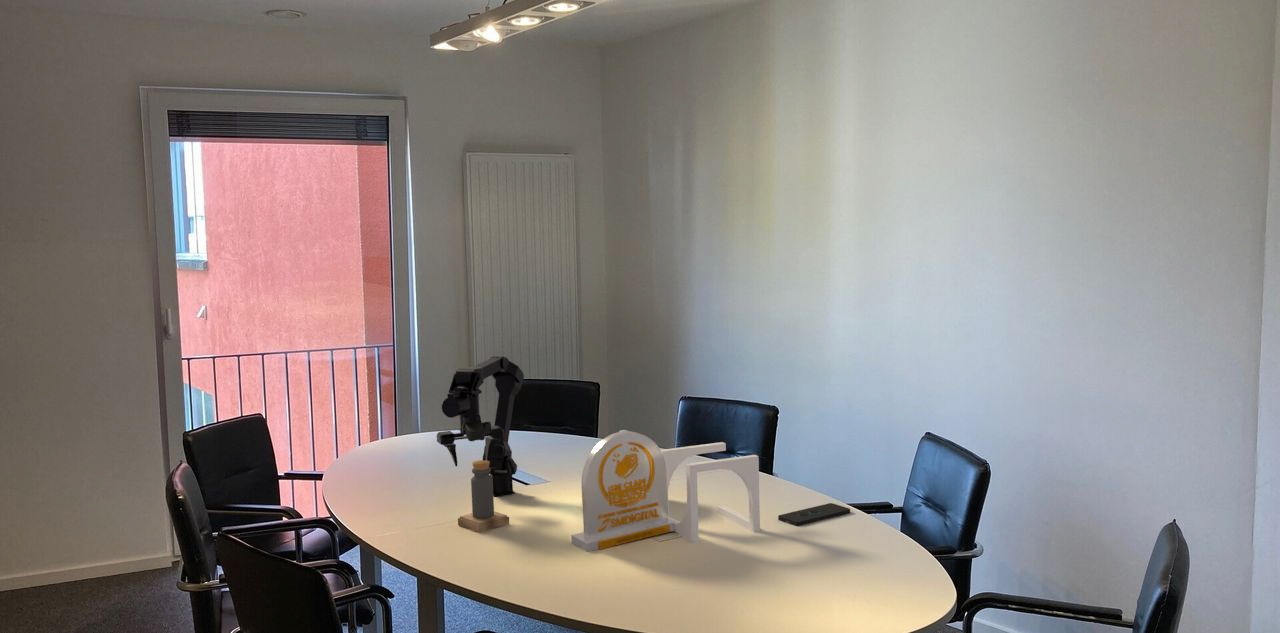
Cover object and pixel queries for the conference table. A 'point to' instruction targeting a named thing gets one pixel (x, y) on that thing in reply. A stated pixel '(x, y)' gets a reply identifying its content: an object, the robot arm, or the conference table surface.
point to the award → (623, 492)
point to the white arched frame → (740, 465)
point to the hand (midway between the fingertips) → (471, 464)
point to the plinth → (483, 522)
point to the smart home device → (814, 514)
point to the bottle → (482, 490)
